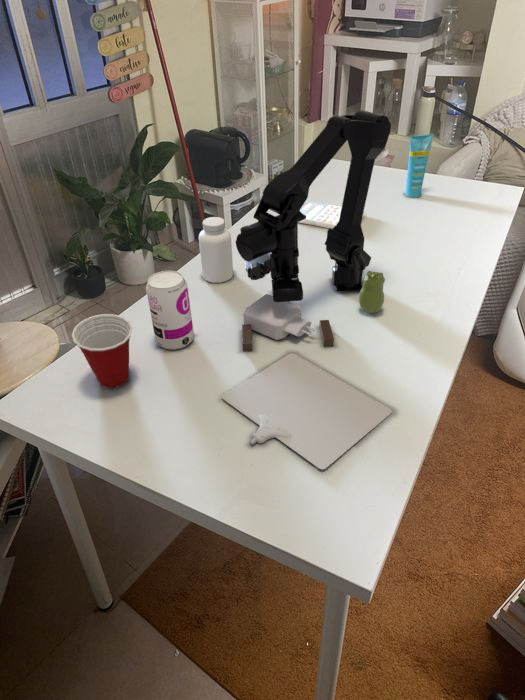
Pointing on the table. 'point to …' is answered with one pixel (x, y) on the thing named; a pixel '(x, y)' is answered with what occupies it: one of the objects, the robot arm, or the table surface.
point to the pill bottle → (215, 250)
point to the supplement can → (170, 309)
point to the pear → (372, 292)
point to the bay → (323, 325)
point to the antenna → (306, 409)
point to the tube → (417, 163)
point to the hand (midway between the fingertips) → (285, 303)
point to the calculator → (321, 214)
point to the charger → (276, 318)
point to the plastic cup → (105, 347)
